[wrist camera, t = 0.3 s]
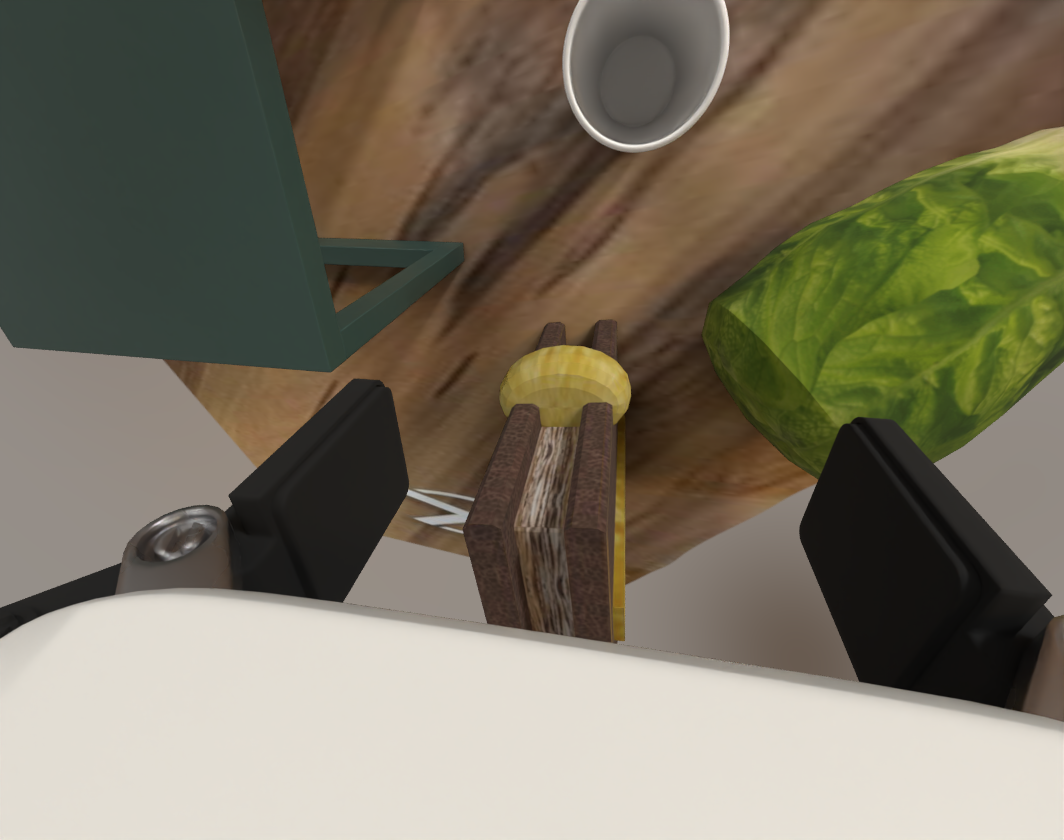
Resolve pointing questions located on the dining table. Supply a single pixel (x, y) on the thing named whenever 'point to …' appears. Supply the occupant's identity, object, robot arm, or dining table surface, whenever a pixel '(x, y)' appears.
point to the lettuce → (904, 307)
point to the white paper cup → (643, 68)
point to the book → (556, 493)
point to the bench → (171, 194)
